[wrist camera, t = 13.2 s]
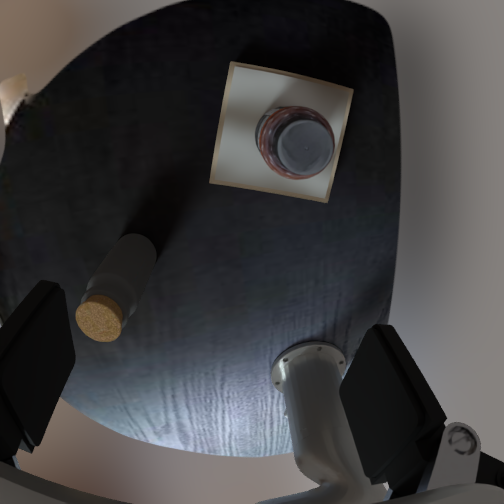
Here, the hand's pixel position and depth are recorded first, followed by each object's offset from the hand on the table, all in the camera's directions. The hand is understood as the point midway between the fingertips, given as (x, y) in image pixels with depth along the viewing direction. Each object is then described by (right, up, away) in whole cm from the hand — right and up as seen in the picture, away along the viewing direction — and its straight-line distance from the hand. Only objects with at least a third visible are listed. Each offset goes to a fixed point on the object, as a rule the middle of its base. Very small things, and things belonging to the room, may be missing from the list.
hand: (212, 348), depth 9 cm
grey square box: (+4, +17, +26) cm, 31 cm away
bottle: (-14, +3, +32) cm, 35 cm away
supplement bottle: (+4, +15, +22) cm, 27 cm away
